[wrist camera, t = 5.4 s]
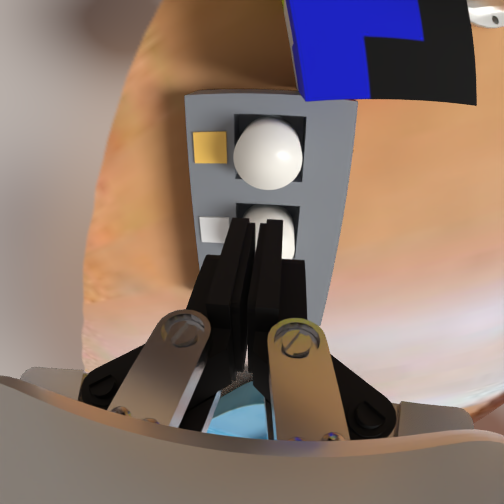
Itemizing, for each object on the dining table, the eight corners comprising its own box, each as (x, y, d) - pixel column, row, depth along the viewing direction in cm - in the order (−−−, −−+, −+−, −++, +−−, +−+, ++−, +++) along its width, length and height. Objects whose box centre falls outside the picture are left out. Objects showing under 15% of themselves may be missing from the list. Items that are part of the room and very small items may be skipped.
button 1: (301, 118, 20) (304, 127, 17) (297, 173, 23) (299, 192, 20) (240, 115, 20) (232, 124, 18) (240, 170, 23) (233, 188, 20)
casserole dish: (254, 442, 65) (251, 467, 59) (172, 415, 59) (165, 442, 54) (372, 389, 46) (377, 425, 40) (269, 345, 40) (265, 390, 34)
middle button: (295, 203, 24) (297, 225, 21) (291, 248, 27) (292, 274, 24) (240, 200, 24) (234, 222, 22) (241, 245, 27) (236, 270, 24)
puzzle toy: (296, 88, 21) (305, 101, 13) (276, -22, 16) (272, -70, 8) (412, 86, 20) (476, 105, 12) (397, -20, 14) (453, -51, 6)
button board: (346, 95, 21) (358, 101, 18) (317, 299, 34) (320, 327, 31) (199, 90, 22) (183, 95, 19) (213, 292, 35) (206, 319, 31)
